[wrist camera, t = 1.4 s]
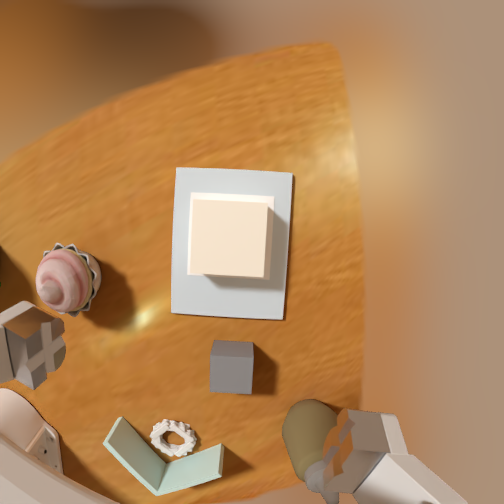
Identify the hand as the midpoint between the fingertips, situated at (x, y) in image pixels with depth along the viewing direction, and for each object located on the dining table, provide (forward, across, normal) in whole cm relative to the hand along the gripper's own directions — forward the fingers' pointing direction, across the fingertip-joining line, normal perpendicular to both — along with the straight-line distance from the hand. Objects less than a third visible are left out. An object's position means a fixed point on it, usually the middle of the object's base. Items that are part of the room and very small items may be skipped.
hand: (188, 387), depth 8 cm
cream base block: (+31, -4, -3) cm, 31 cm away
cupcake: (+28, -23, -13) cm, 38 cm away
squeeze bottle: (+30, +12, -26) cm, 41 cm away
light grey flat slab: (+31, -4, -4) cm, 32 cm away
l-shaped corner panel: (+27, -7, -34) cm, 44 cm away
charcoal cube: (+30, 0, -19) cm, 35 cm away
